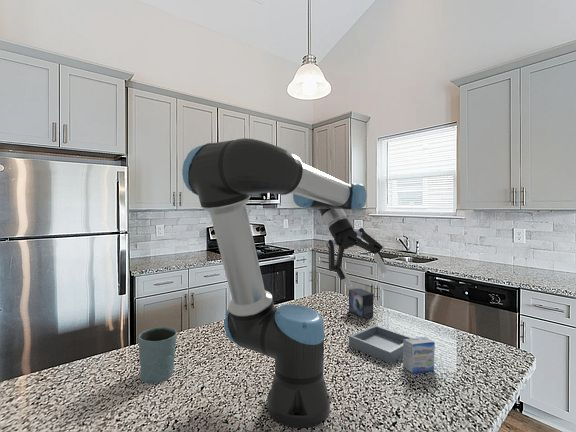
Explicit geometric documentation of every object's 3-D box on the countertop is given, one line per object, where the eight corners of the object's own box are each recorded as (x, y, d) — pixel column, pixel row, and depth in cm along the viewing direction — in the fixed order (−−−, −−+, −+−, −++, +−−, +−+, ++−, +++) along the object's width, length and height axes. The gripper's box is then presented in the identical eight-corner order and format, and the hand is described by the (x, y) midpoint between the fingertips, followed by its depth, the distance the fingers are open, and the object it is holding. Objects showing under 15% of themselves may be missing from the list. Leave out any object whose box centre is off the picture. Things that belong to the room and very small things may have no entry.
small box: (347, 311, 146) (347, 289, 146) (358, 309, 149) (359, 287, 149) (361, 319, 137) (362, 295, 136) (373, 317, 139) (374, 293, 139)
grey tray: (390, 363, 98) (390, 352, 98) (348, 345, 110) (348, 336, 110) (415, 348, 109) (415, 338, 109) (375, 334, 121) (375, 324, 121)
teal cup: (140, 369, 93) (139, 329, 93) (176, 363, 97) (176, 324, 96) (136, 388, 84) (136, 343, 83) (177, 381, 87) (177, 338, 87)
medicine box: (411, 374, 92) (412, 344, 92) (402, 366, 97) (403, 338, 96) (434, 370, 94) (435, 342, 94) (424, 363, 99) (425, 335, 98)
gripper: (363, 216, 116) (393, 269, 109) (303, 238, 108) (331, 297, 101) (371, 207, 109) (404, 262, 102) (308, 230, 101) (339, 292, 94)
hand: (368, 279), depth 101 cm, fingers open, 13 cm apart
